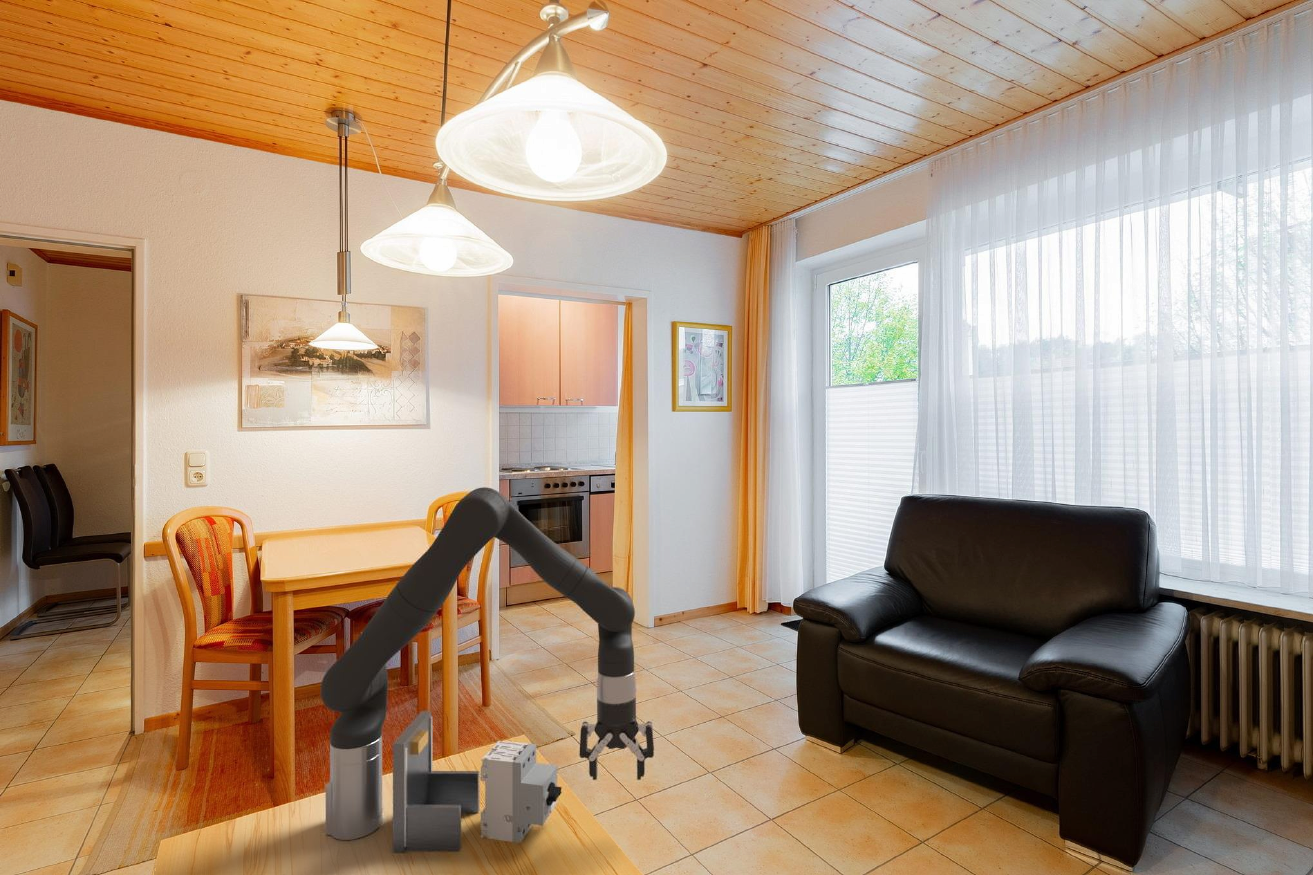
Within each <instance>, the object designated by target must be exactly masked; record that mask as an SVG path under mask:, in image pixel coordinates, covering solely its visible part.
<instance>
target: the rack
mask: <svg viewBox="0 0 1313 875" xmlns="http://www.w3.org/2000/svg"><path fill="white" fill-rule="evenodd" d="M433 754H434V753H433V716H432V710H421V711H420V712H419V713H418V714H417V715H416V717H414V719H413V720H412V721H411V723H410V724H409V725H408V726H407V727H406V728H405V729H404V730H403V731H402V733H401V734H400V735H399V736H398V737H397V739H396V740H395V741H394V742H393V743H392V854H405V852H460V850H461V849H462V814H478V813H479V812H480V770H433V768H434V767H433V766H434V765H433V759H434V758H433Z"/></svg>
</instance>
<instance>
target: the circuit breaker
mask: <svg viewBox="0 0 1313 875" xmlns="http://www.w3.org/2000/svg"><path fill="white" fill-rule="evenodd" d="M481 761H482V763H481V766H480V781H481V782H484V798H485V799H484V801H485V802H484V809H483V810H482V811H481V812H480V830H481V835H480V838H484V837H485V838H486V839H490V840H495V841H496V840H497V841H504V842H505V841H506V842H511V843H522V842H523V840H524V839H525V836H526V835H527V834H528V832H529V831H530V829H531V828H532V827H533V825H535V826H544V825H545V823H546V822H547V820H548V818H549V817H550V815H551V814H552V812H553V810H554V808H555V807H556V805H557V804H558V798H559V796H561V794H562V786H558V765H556V764H550V763H540V762H537V744H536V743H526V742H519V741H518V742H517V741H508V740H504V741H501V740H498V741H497V742H496V743H495V745H493V747H492V748H491V750H489V751H488V752H487V753H486V754H485V755H484V756H483V757H482V758H481Z"/></svg>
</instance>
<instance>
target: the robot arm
mask: <svg viewBox="0 0 1313 875" xmlns="http://www.w3.org/2000/svg"><path fill="white" fill-rule="evenodd" d="M455 504H456V505H455V506H454V508H453V509H452V511H451V512H450V515H449V516H448V518H447V520H446V521H445V523H444V525H443V526H442V528H441V529H440V531H439V532H438V535H437V536H436V537H435V539H434V541H433V542H432V544H431V545H430V546H429V548H428V549H427V550H426V551H425V552H424V553H423V554H422V555H421V556H420V557H419V558H418V559H417V560H416V561H415V562H414V563H413V564H412V565H411V567H410V568H409V569H408V570H407V571H406V572H405V573H404V575H402V577H401V578H400V580H398V582H397V583H396V584H395V585H394V587H393V588H392V590H391V591H390V593H389V594H388V595H387V597H386V598H385V600H384V601H383V602H382V604H381V605H380V607H378V609H377V610H376V612H375V613H374V615H373V616H372V618H371V619H369V621H368V623H367V624H366V626H364V629H363V630H362V632H361V633H360V634H359V636H358V637H357V638H356V640H354V642H353V643H352V644H351V646H350V647H348V649H347V650H345V651H344V653H343V654H342V655H341V656H340V657H339V658H338V659H337V660H336V661H335V662H334V663H333V664H332V665H331V666H330V667H329V668H328V669H327V671H326V673H324V676H323V678H322V680H321V685H320V699H321V700H322V703H323V706H325V707H326V708H327V709H329V710H331V711H333V712H337V713H339V715H338V717H337V718H336V720H335V722H333V724H332V726H331V729H330V733H329V742H330V746H329V749H330V750H329V752H330V754H329V756H330V759H329V763H330V764H329V766H330V767H329V771H330V774H329V778H330V779H329V781H328V782H327V783H326V784H325V836H332V837H333V839H337V840H341V841H349V840H356V839H359V838H363V837H365V836H368V835H370V834H372V833H373V832H375V831H376V830H378V828H379V827H380V826H381V825H382V823H383V726H384V723H385V721H386V718H387V712H388V711H387V710H388V692H389V690H388V688H389V678H388V677H389V676H388V670H387V666H386V665H387V663H388V662H389V661H390V660H391V659H392V658H393V657H394V656H395V655H396V654H398V653H399V652H400V651H401V650H402V649H403V648H405V646H406V645H408V644H409V643H410V642H411V641H412V640H413V639H414V638H416V636H417V635H419V634H420V633H421V631H423V629H425V627H427V625H428V624H429V623H430V622H431V620H432V619H433V618H434V616H435V615H436V614H437V613H438V611H439V610H440V609H441V607H442V606H443V605H444V603H445V601H446V600H447V599H448V597H449V596H450V594H451V592H452V590H453V589H454V586H455V584H456V583H457V580H458V578H459V577H460V575H461V573H462V571H463V570H464V568H466V566H467V565H468V564H469V563H470V562H471V561H472V559H473V558H474V557H475V556H476V555H477V554H478V553H479V552H480V551H482V549H483V548H484V547H485V546H486V545H487V544H488V543H489V542H490V541H492V540H493V538H495V539H497V540H499V541H501V542H503V544H506V545H507V546H508V547H510V548H511V549H513V550H514V551H515V552H516V553H517V554H518V555H519V556H520V557H521V558H522V559H523V560H524V561H525V562H526V563H527V565H529V566H530V568H531V569H532V570H533V571H534V572H535V574H537V576H538V577H539V578H540V579H542V581H544V582H545V583H546V584H547V585H548V586H550V587H551V588H552V589H554V590H555V591H556V592H558V593H560V594H561V596H564V597H566V598H567V599H568V600H570V601H572V602H573V603H574V604H576V605H577V606H578V607H579V608H580V609H581V610H582V611H583V612H585V614H586V615H588V616H589V617H590V618H591V619H592V620H593V621H594V622H595V623H597V630H598V647H597V648H598V649H597V678H596V723H595V724H592V723H589V722H588V721H583V722H582V725H581V727H580V735H579V757H580V759H584V758H585V759H587V760H588V765H589V767H588V769H589V770H588V772H589V777H592V781H597V779H598V756H599V754H601V753H602V752H603V750H604V749H605V748H608V749H609V750H613V749H620V750H625V748H628V749H629V751H630V752H631V753H632V754H633V755H634V756H635V757H636V780H637V781H641V780H642V778H643V777H644V776H645V769H646V768H645V761H646V759H648V758H650V759H653V757H654V755H655V745H654V743H655V742H654V732H653V731H654V730H653V722H652V721H647V722H645V723H640V724H639V723H638V721H637V695H636V694H637V684H636V675H635V650H634V643H633V637H632V634H633V633H632V631H633V630H632V628H633V627H632V626H633V622H634V620H635V614H636V611H635V605H634V603H633V599H632V597H631V595H630V594H629V593H628V591H626V590H625V589H623V588H621V587H618V586H617V587H611V585H609V584H607V583H606V582H605V581H604V580H602V579H601V578H599V576H598V574H597V573H596V572H595V571H594V570H593V569H592V568H591V567H589V566H588V565H586V564H585V563H584V562H582V561H581V560H579V559H578V558H576V557H575V556H574V555H572V554H571V553H569V552H568V551H567V550H565V549H564V548H563V547H561V546H559V545H558V544H557V543H556V542H555V541H553V540H552V539H550V537H548V536H547V535H546V534H544V533H543V532H542V531H541V530H540V529H538V528H537V527H536V526H535V524H533V523H532V522H531V521H530V520H528V519H527V518H526V517H525V516H524V514H522V513H521V512H520V511H519V510H518V509H517V508H516V507H515V506H514V505H513V503H511V502H510V501H509V499H507V498H506V497H505V496H504V495H503V494H502V493H500V492H499V491H498V490H496V489H494V488H491V487H485V486H483V487H477V488H475V489H473V490H472V491H470V492H469V493H466V495H464V496H463V497H462V498H461V499H460V500H459V501H458V502H457V503H455ZM593 732H594V733H595V735H596V736H597V737H598V739H597V740H596V742H595V744H594V745H593V747H592V748H588V740H589V739H588V738H589V737H591V736H592V733H593ZM639 732H640V733H641V734H642V735H641V736H643V737H645V739H646V740H645V741H646V747H645V748H643V747H642V745H641V744H640V742H639V740H638V738H636V736H637V735H638V733H639Z"/></svg>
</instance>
